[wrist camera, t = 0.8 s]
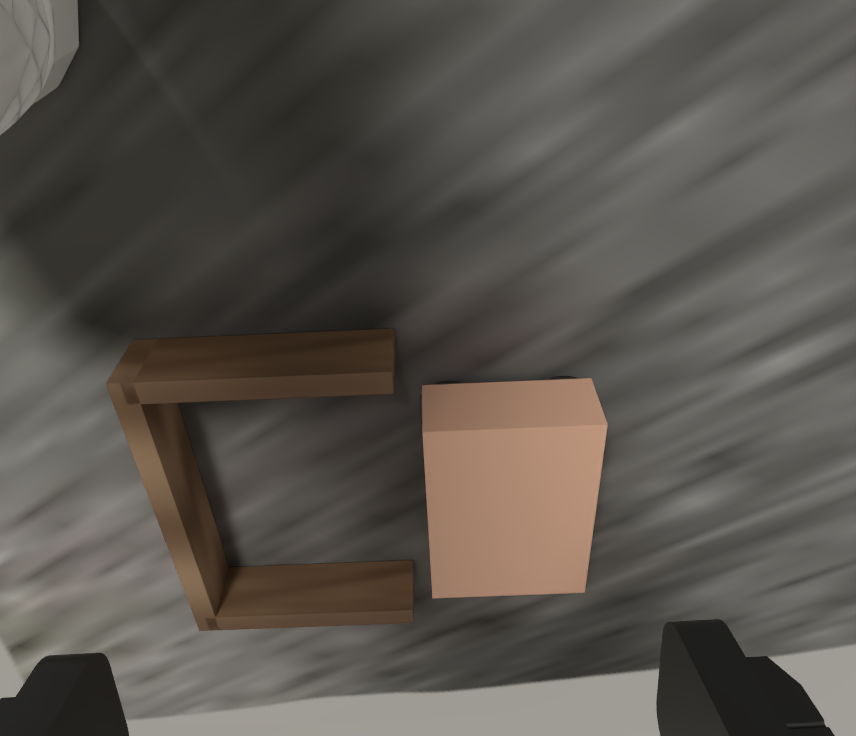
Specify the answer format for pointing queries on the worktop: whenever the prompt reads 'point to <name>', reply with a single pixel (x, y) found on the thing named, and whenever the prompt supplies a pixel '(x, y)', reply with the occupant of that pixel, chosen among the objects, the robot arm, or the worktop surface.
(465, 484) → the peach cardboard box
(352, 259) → the worktop surface
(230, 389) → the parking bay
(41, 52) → the white cup
